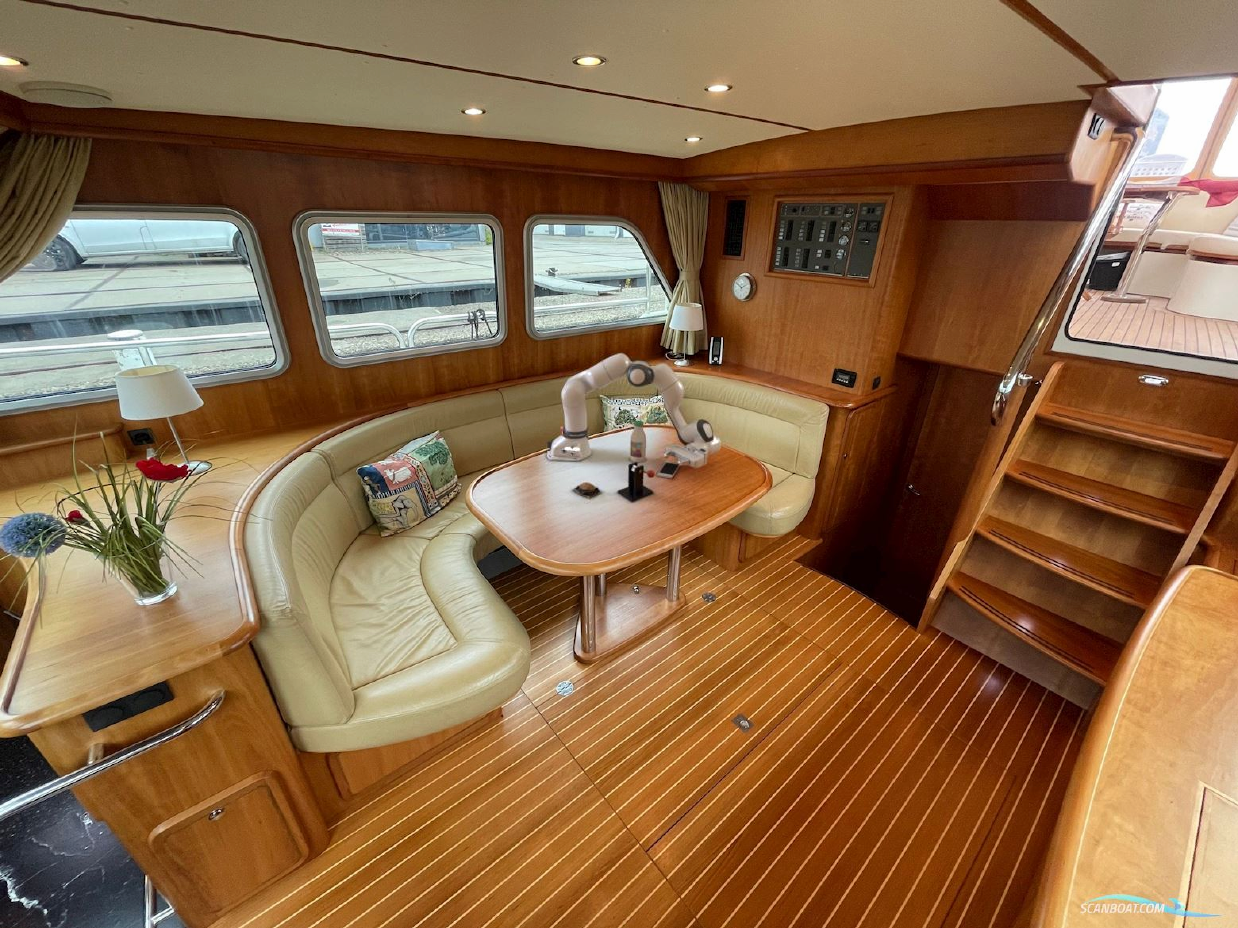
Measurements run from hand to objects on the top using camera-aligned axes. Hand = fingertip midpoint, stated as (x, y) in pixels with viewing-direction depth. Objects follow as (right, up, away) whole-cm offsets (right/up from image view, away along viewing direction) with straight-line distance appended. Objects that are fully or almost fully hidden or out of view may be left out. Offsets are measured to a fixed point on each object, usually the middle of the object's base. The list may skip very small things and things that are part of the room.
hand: (671, 459), depth 216 cm
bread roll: (-38, -14, -5) cm, 41 cm away
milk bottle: (-14, 0, +24) cm, 28 cm away
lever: (-14, -7, -9) cm, 18 cm away
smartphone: (0, -5, +13) cm, 14 cm away
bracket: (-17, -15, -7) cm, 23 cm away
